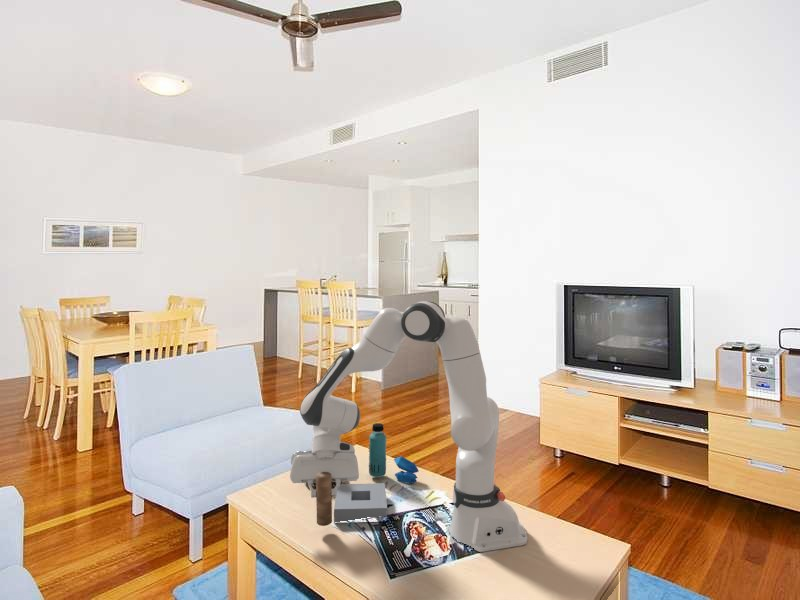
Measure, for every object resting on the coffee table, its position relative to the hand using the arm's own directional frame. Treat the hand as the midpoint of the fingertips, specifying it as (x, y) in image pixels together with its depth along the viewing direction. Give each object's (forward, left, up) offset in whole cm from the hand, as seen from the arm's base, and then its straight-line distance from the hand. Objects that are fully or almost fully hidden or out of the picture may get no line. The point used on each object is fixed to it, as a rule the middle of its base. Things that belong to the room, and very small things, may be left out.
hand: (323, 496), depth 137 cm
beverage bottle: (-17, -35, -11) cm, 40 cm away
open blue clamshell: (-27, -32, -11) cm, 43 cm away
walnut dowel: (0, -1, -8) cm, 8 cm away
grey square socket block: (-11, -13, -11) cm, 20 cm away
